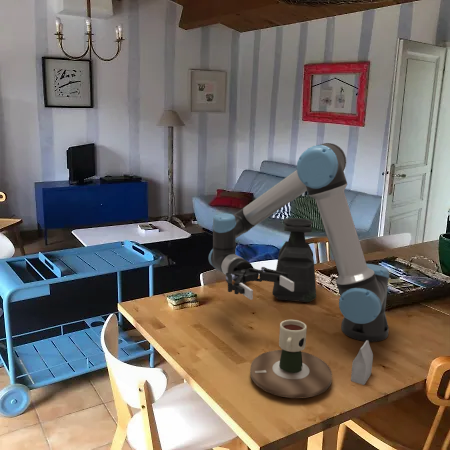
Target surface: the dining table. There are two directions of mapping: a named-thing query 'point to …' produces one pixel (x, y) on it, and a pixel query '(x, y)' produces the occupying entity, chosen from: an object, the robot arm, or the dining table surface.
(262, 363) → the turntable
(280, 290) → the dark grey tapered pedestal
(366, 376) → the grey gabled block
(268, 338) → the dining table surface
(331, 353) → the dining table surface
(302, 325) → the character mug
